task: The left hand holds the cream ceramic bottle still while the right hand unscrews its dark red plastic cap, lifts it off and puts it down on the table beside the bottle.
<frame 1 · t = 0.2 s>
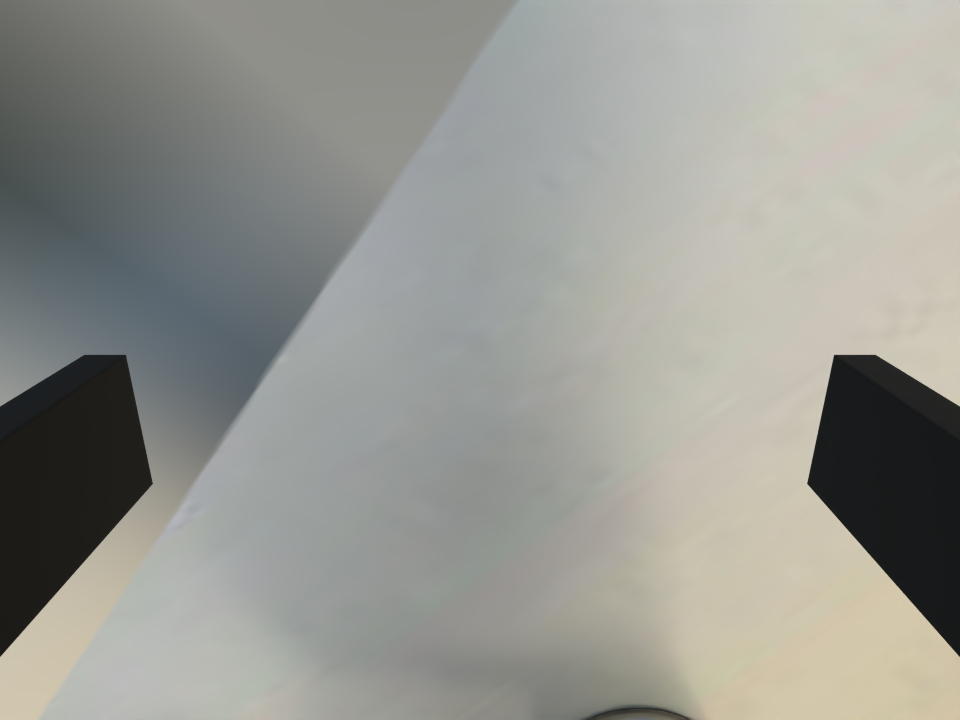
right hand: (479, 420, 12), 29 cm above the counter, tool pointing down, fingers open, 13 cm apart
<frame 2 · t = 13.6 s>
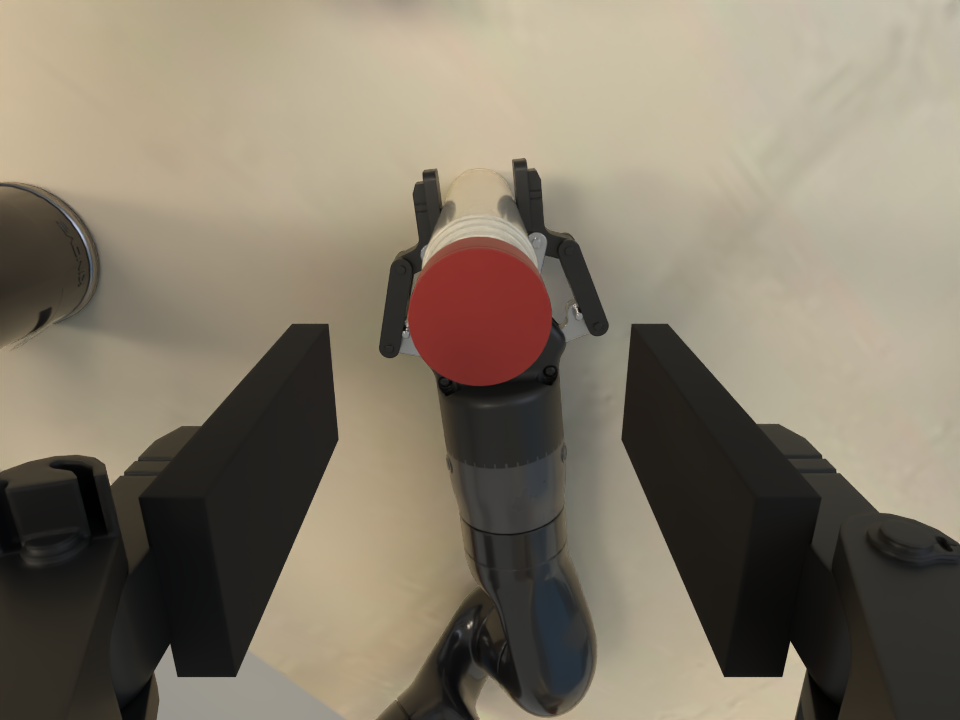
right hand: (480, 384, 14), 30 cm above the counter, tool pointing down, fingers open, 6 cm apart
left hand: (475, 166, 35), fingers closed on bottle, 4 cm apart
cap: (479, 317, 19), point 25 cm above the counter, screwed on, not yet turned
bottle: (479, 202, 42), on the counter, touching left hand
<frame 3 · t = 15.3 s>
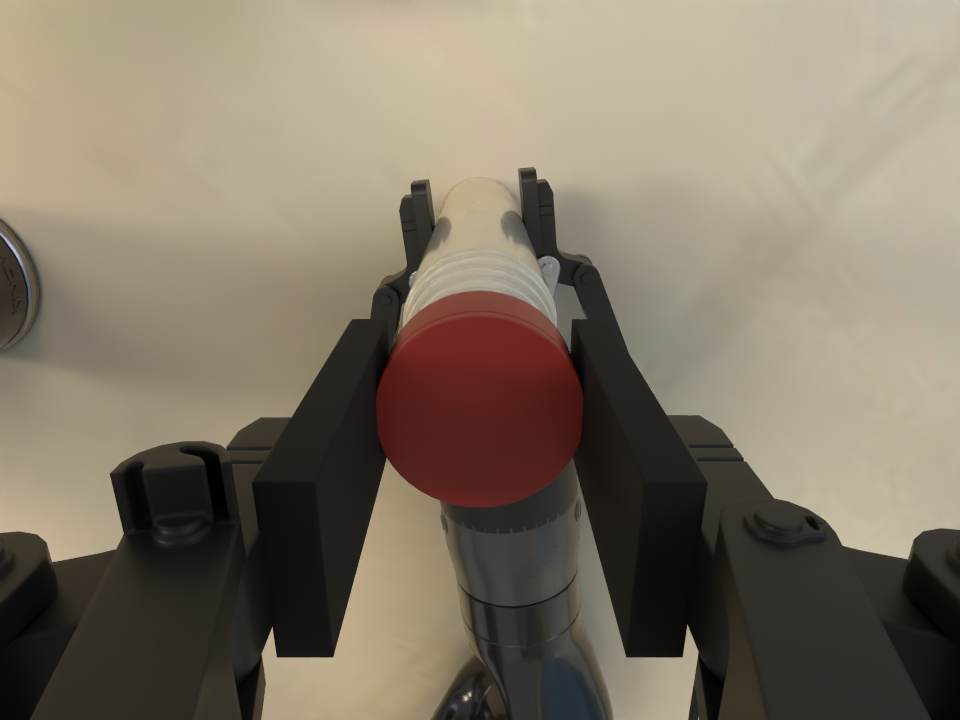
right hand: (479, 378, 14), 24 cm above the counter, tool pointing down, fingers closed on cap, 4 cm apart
left hand: (474, 177, 29), fingers closed on bottle, 4 cm apart
cap: (479, 411, 13), point 25 cm above the counter, screwed on, not yet turned, touching right hand
bottle: (479, 216, 36), on the counter, touching left hand
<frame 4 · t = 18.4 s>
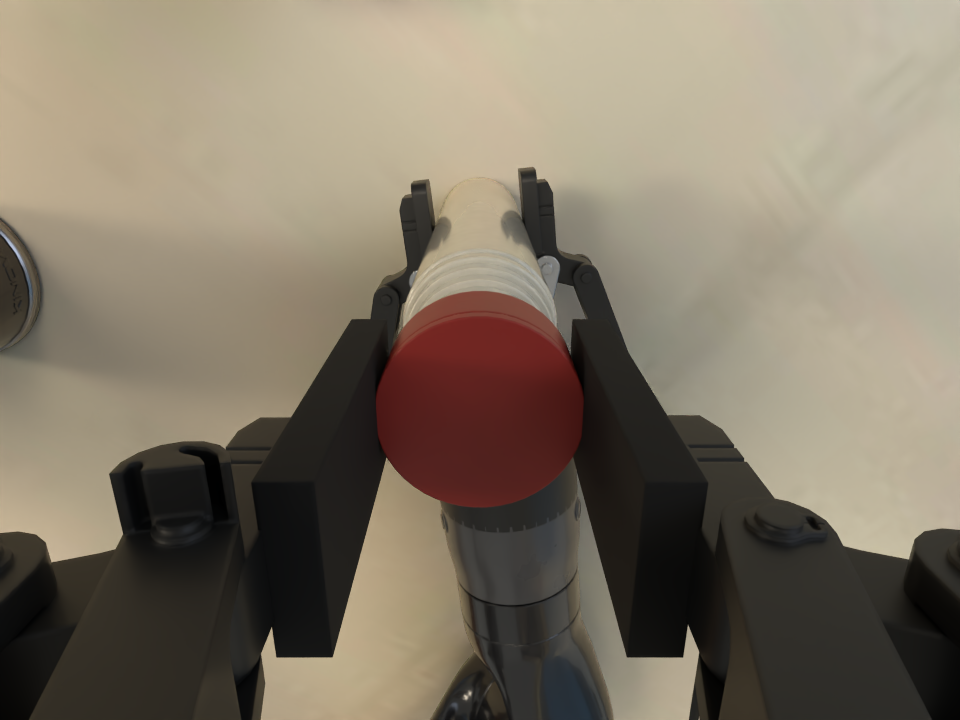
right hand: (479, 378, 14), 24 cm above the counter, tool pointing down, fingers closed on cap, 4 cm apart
left hand: (474, 177, 30), fingers closed on bottle, 4 cm apart
cap: (479, 411, 13), point 25 cm above the counter, turned 85° so far, risen 0.1 cm, still on its thread, touching right hand
bottle: (479, 216, 36), on the counter, touching left hand
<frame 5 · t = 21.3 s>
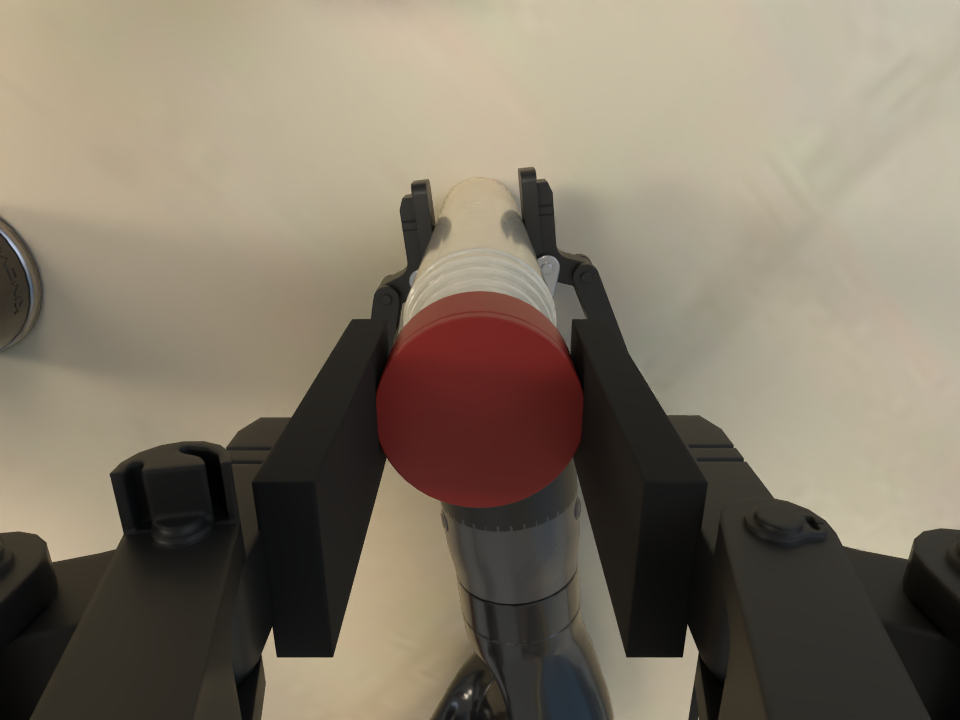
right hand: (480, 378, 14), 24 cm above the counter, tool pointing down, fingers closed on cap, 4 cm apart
left hand: (474, 177, 30), fingers closed on bottle, 4 cm apart
cap: (479, 411, 13), point 25 cm above the counter, turned 171° so far, risen 0.2 cm, still on its thread, touching right hand
bottle: (479, 216, 36), on the counter, touching left hand
when the right hand's fingers open (1 cm above the counter, at t = 35.1 s): cap drops 1 cm, point 2 cm above the counter.
when the left hand's fingers open (6 cm above the counter, at t = 36.4 s): bottle stays where it is, on the counter.
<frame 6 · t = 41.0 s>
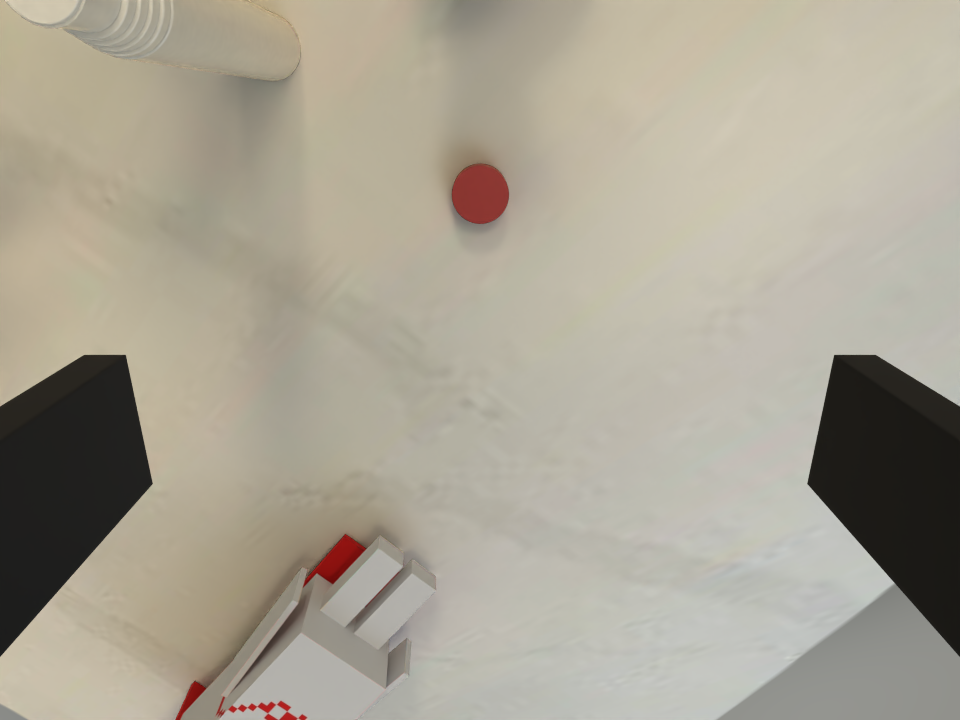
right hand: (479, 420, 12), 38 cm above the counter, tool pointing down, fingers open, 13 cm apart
toy: (309, 627, 63), on the counter
cap: (480, 194, 46), point 2 cm above the counter, off its thread
bottle: (270, 47, 45), on the counter
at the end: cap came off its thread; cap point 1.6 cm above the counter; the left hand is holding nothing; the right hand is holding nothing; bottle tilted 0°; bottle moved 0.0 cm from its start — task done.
